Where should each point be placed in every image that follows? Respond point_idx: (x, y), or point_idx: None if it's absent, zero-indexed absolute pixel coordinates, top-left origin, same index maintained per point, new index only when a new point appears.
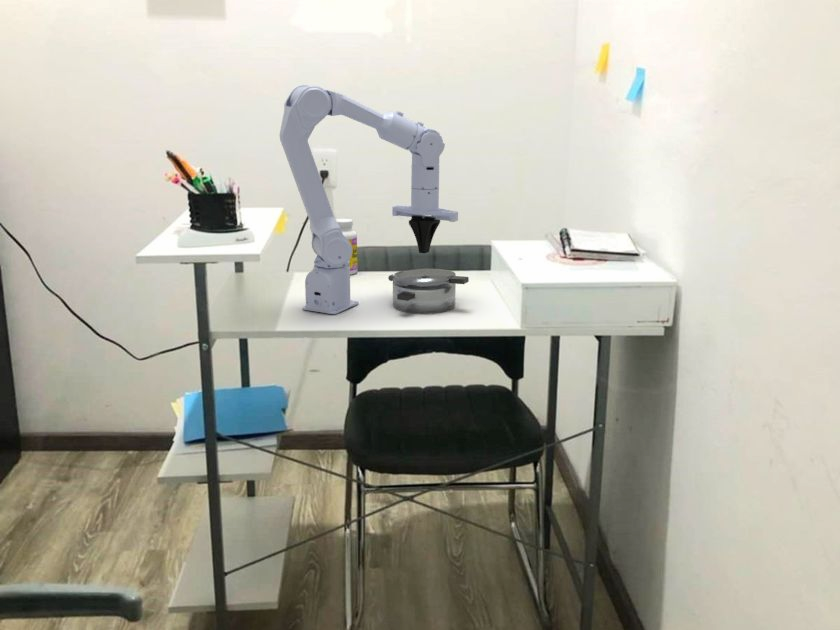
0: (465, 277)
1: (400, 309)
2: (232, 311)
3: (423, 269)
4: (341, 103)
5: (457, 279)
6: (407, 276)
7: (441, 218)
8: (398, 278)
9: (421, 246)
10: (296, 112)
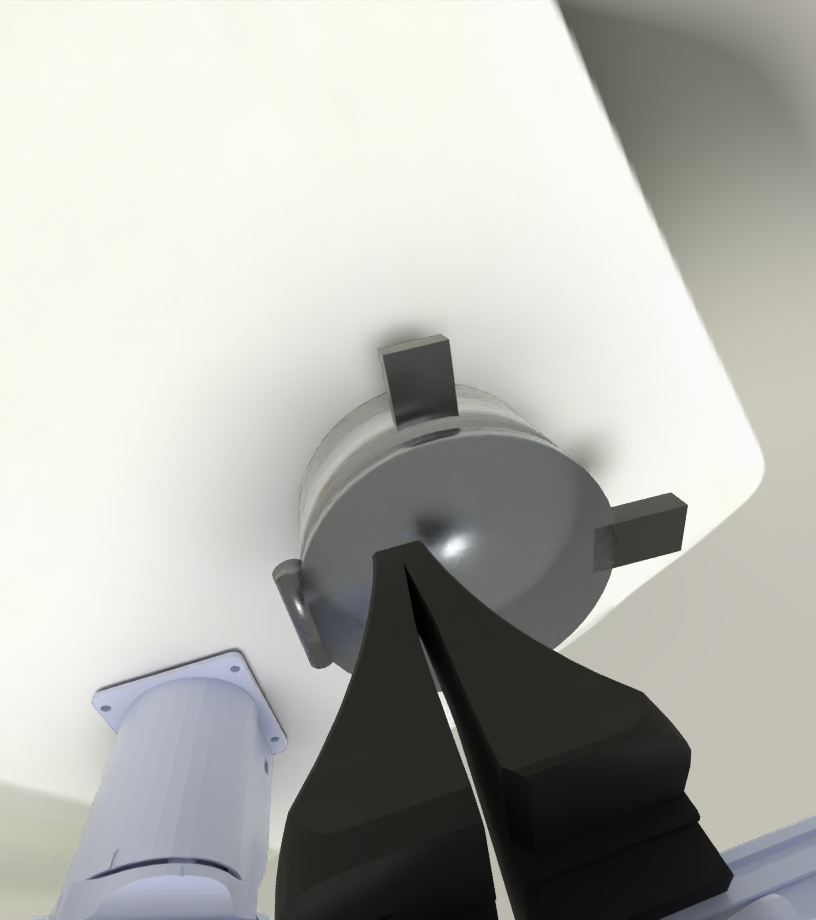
0: (677, 521)
1: None
2: (39, 891)
3: (370, 496)
4: None
5: (649, 555)
6: None
7: (808, 872)
8: None
9: (426, 650)
10: None
